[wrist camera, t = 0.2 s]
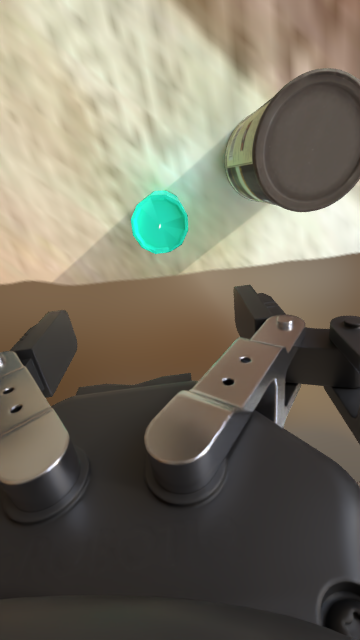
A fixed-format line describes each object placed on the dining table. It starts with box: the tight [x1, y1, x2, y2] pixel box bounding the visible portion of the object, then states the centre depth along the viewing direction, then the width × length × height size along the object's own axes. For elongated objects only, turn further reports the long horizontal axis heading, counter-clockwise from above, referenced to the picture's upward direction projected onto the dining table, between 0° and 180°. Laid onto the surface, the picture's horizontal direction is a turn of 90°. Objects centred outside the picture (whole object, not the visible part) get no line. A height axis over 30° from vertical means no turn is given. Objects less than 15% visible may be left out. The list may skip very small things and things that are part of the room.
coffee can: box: [225, 68, 360, 212], centre depth 30 cm, size 10×10×14 cm
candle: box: [131, 190, 188, 254], centre depth 34 cm, size 6×6×12 cm
